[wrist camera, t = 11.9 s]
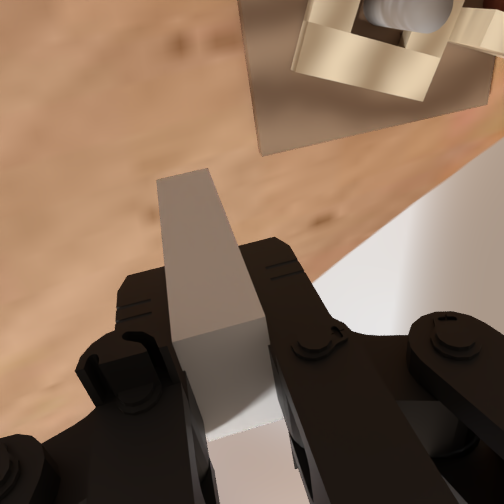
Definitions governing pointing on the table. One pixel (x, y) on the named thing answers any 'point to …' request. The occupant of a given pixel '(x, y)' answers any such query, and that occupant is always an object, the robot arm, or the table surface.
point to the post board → (344, 95)
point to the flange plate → (388, 47)
